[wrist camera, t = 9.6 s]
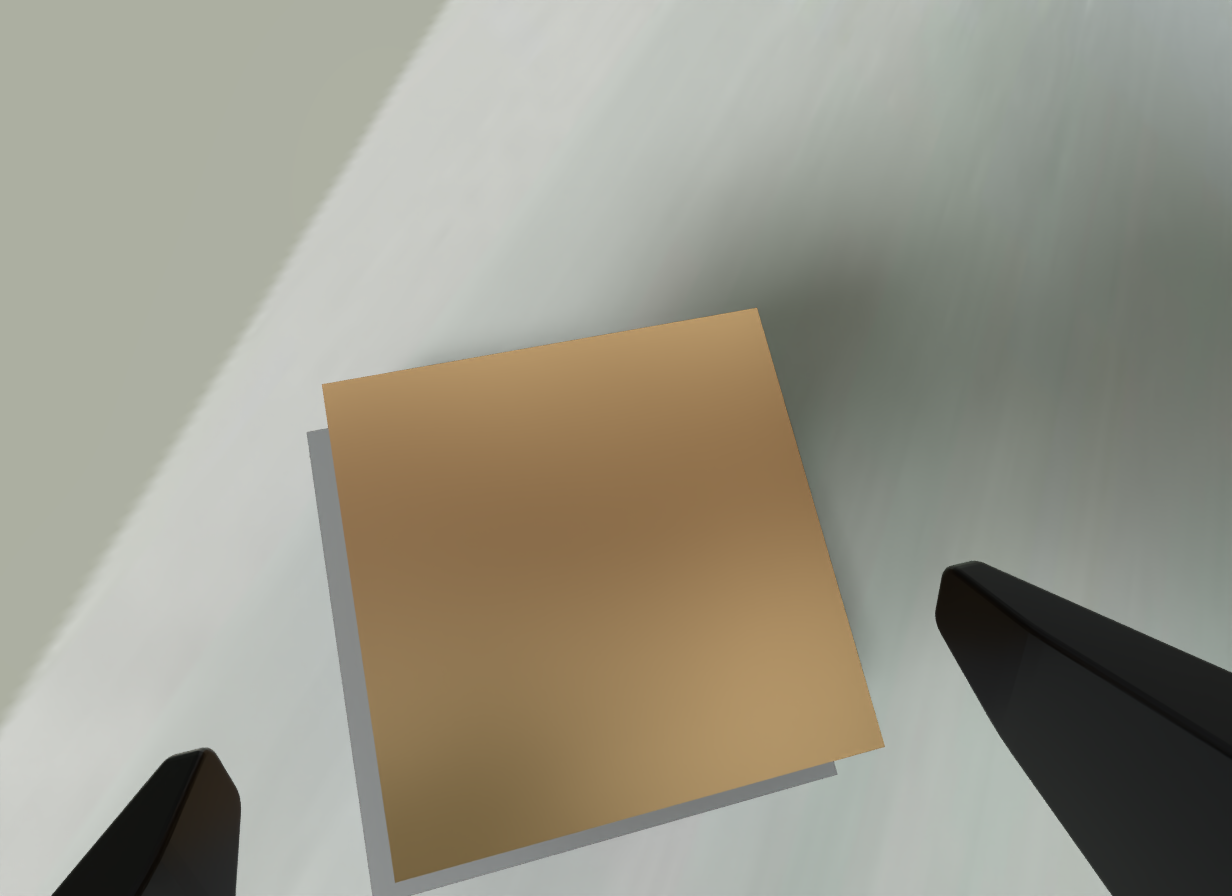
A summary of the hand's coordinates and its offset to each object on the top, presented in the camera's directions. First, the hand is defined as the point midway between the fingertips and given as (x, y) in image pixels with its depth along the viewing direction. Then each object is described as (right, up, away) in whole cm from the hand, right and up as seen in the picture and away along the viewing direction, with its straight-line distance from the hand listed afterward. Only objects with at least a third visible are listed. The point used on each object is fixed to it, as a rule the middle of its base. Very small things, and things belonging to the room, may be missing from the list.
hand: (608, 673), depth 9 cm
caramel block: (-1, -1, +8) cm, 8 cm away
